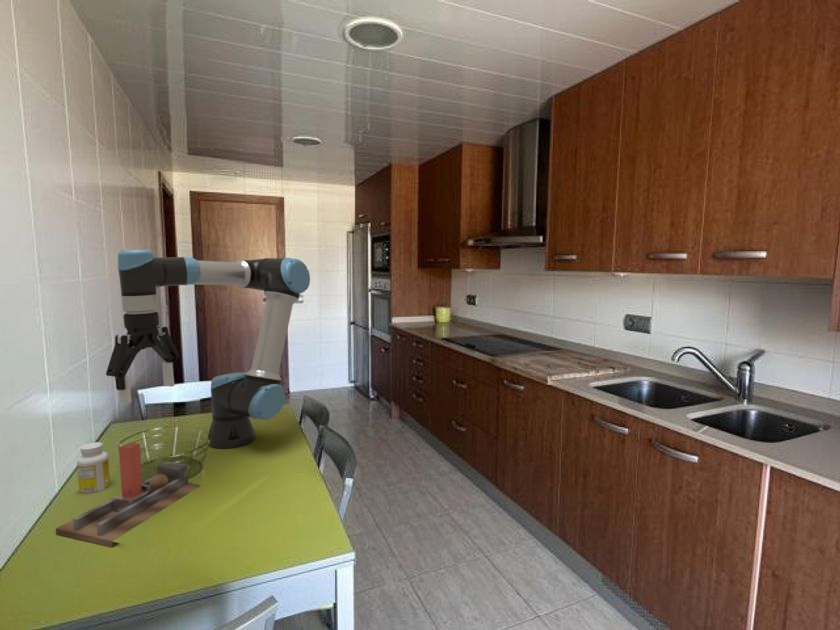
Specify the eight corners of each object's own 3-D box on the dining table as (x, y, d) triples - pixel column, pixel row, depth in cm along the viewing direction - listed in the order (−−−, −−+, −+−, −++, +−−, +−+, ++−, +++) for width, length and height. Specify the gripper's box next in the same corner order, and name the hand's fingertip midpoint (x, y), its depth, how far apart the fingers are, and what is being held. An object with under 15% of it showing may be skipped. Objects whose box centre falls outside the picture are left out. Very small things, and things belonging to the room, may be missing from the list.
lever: (135, 497, 113) (132, 439, 111) (151, 500, 112) (148, 442, 110) (113, 509, 107) (109, 449, 106) (130, 513, 106) (126, 451, 104)
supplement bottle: (104, 484, 124) (101, 438, 122) (114, 491, 120) (111, 444, 118) (75, 493, 118) (71, 446, 117) (85, 501, 114) (81, 452, 113)
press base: (154, 482, 125) (152, 459, 124) (202, 490, 121) (201, 467, 120) (56, 535, 100) (54, 507, 99) (112, 547, 96) (110, 518, 95)
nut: (159, 486, 120) (158, 470, 119) (172, 488, 118) (172, 472, 118) (145, 494, 115) (144, 477, 115) (159, 496, 114) (158, 480, 114)
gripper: (167, 305, 126) (173, 379, 129) (81, 318, 102) (91, 408, 105) (189, 306, 124) (195, 380, 127) (107, 319, 100) (117, 411, 103)
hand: (148, 393), depth 116 cm, fingers open, 13 cm apart
